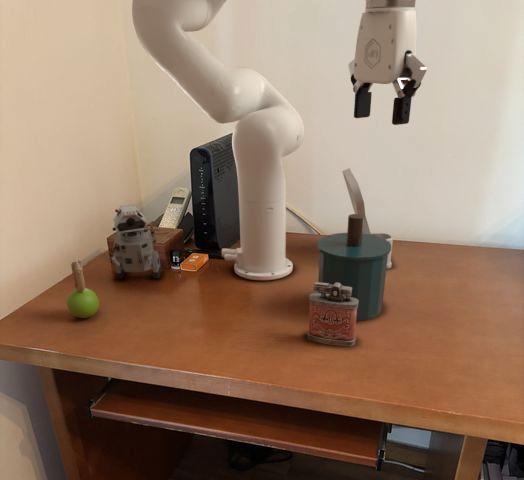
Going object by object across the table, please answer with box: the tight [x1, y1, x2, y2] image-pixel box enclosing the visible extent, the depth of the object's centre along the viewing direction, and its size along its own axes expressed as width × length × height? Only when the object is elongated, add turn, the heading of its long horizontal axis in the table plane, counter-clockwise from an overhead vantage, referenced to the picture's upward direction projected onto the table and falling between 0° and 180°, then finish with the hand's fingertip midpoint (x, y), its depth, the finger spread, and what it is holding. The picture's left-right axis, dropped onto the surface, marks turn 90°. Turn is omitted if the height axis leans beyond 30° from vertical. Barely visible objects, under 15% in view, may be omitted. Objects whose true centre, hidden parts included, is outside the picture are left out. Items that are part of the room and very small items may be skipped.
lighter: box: [307, 281, 359, 347], centre depth 89 cm, size 8×3×10 cm, turn 71°
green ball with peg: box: [66, 259, 100, 319], centre depth 97 cm, size 5×6×12 cm
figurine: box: [111, 204, 163, 280], centre depth 111 cm, size 9×12×15 cm
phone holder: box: [342, 168, 394, 269], centre depth 120 cm, size 17×10×18 cm, turn 179°
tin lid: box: [316, 213, 391, 261], centre depth 95 cm, size 13×13×6 cm
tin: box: [317, 251, 388, 322], centre depth 99 cm, size 12×12×12 cm
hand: (380, 120), depth 93 cm, fingers open, 9 cm apart
